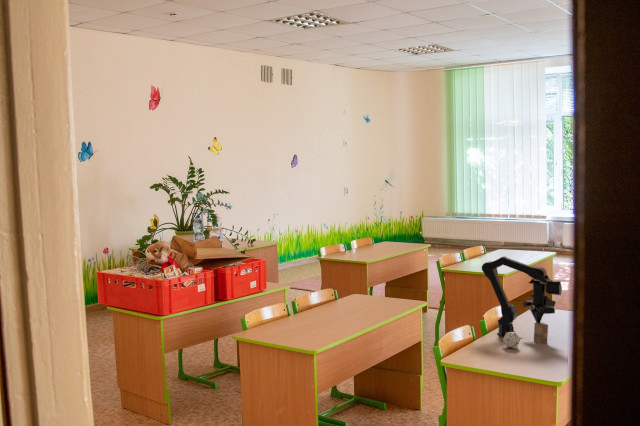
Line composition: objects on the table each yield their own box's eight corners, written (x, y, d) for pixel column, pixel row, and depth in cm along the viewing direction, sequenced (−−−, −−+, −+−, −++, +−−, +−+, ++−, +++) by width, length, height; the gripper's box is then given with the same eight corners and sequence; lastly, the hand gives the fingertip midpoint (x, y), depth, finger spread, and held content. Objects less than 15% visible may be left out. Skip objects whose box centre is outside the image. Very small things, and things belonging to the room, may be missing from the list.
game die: (514, 356, 278) (523, 343, 272) (497, 349, 279) (505, 335, 273) (516, 343, 285) (525, 330, 278) (499, 336, 286) (507, 322, 280)
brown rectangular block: (538, 343, 287) (539, 325, 287) (533, 340, 292) (534, 322, 291) (547, 342, 288) (548, 324, 287) (541, 340, 293) (542, 322, 292)
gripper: (565, 295, 284) (564, 327, 285) (542, 288, 302) (541, 318, 303) (544, 296, 281) (543, 329, 282) (522, 289, 300) (522, 320, 300)
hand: (538, 324), depth 292 cm, fingers closed
